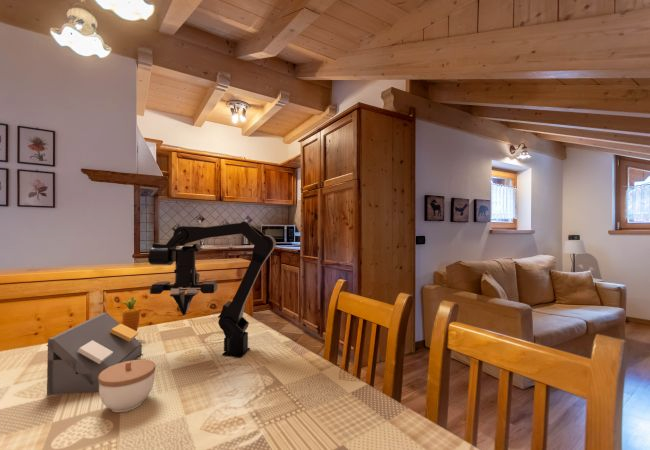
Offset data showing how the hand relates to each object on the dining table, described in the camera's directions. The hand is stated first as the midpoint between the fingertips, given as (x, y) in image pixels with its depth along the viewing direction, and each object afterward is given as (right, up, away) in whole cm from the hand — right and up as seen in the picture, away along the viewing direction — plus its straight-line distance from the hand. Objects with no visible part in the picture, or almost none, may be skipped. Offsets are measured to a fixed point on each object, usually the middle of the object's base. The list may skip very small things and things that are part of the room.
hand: (184, 314), depth 95 cm
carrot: (-23, -12, +9) cm, 27 cm away
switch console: (-17, -12, -12) cm, 24 cm away
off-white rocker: (-13, -6, -19) cm, 24 cm away
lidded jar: (0, -12, -27) cm, 30 cm away
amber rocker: (-15, -6, -5) cm, 17 cm away
